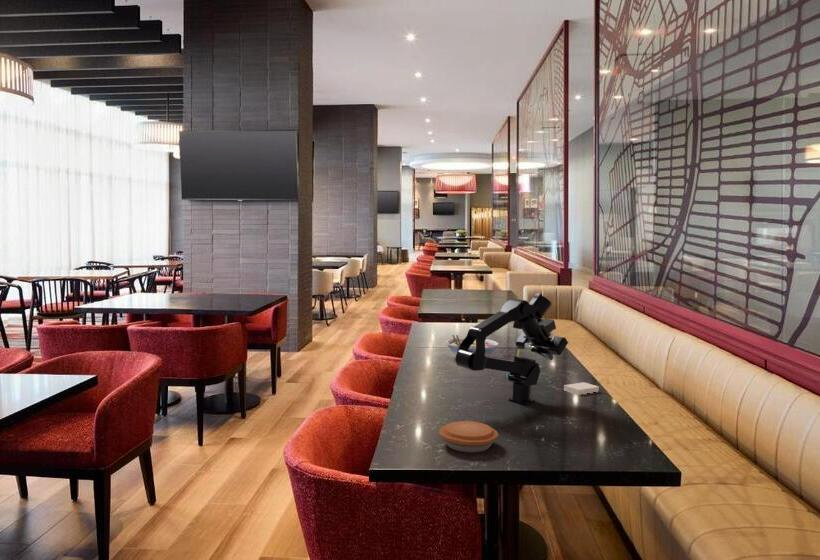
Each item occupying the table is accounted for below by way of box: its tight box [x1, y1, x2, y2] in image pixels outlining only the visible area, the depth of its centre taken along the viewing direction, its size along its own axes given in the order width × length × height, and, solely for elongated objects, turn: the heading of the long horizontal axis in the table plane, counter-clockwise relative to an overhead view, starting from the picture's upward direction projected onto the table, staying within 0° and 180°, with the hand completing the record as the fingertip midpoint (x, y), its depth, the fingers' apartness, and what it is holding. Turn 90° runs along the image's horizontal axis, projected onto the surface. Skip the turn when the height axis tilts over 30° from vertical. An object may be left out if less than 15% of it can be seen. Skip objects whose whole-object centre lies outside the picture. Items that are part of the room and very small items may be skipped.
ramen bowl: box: [445, 334, 499, 357], centre depth 268 cm, size 25×23×8 cm
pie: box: [438, 420, 499, 454], centre depth 161 cm, size 16×16×5 cm
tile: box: [563, 381, 600, 396], centre depth 218 cm, size 2×7×10 cm
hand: (551, 359), depth 211 cm, fingers closed
